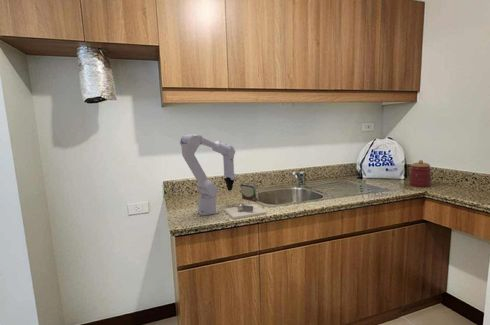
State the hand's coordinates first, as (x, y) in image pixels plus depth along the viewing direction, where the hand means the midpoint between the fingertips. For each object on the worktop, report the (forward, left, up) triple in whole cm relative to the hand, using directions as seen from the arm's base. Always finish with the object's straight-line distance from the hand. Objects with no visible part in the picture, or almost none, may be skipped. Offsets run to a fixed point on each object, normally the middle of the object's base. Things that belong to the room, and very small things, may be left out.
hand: (229, 190), depth 157 cm
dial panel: (+3, -15, -9) cm, 18 cm away
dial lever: (+3, -17, -8) cm, 19 cm away
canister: (+133, -16, -10) cm, 134 cm away
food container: (+16, +8, -10) cm, 20 cm away
